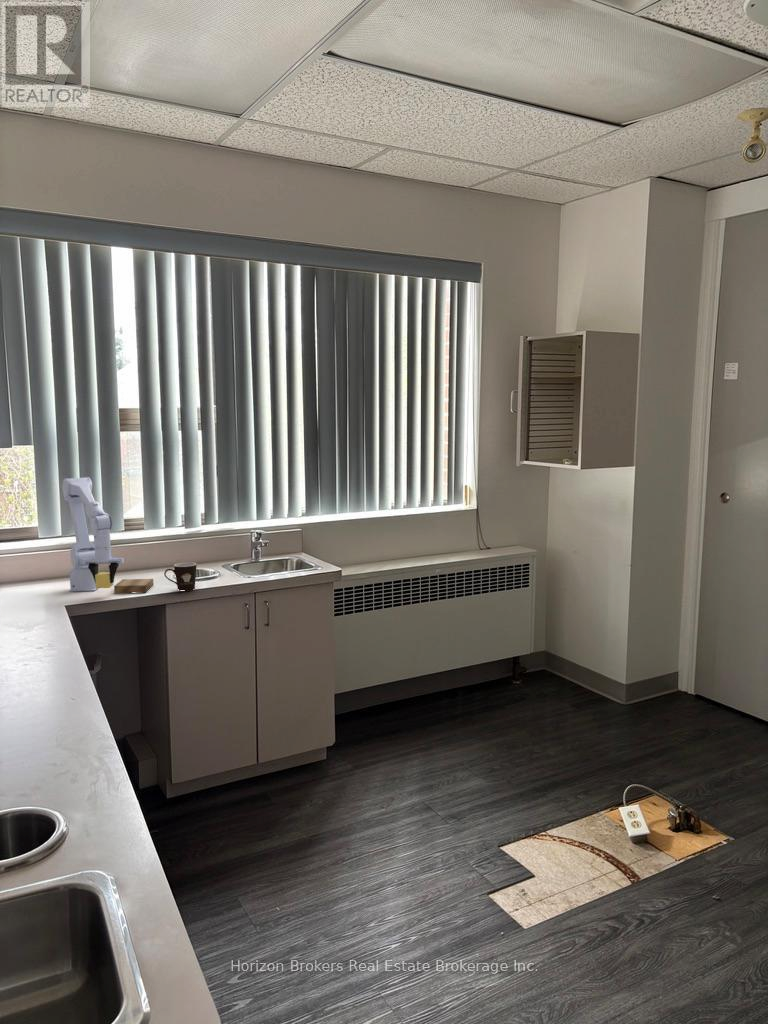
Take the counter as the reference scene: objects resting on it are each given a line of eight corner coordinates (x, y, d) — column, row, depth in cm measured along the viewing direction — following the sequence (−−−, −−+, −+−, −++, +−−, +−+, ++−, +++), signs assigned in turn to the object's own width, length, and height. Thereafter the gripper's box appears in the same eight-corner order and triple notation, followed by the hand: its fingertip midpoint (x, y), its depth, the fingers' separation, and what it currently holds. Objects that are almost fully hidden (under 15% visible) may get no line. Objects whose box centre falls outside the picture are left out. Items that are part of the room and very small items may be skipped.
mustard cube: (95, 588, 288) (95, 575, 287) (100, 585, 293) (99, 572, 292) (109, 587, 288) (108, 574, 288) (113, 585, 293) (112, 572, 293)
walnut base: (114, 593, 296) (114, 586, 296) (123, 586, 308) (122, 579, 308) (146, 592, 297) (145, 585, 297) (153, 586, 309) (153, 578, 309)
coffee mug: (200, 587, 305) (199, 562, 304) (193, 592, 297) (192, 566, 296) (172, 587, 307) (171, 562, 305) (164, 592, 298) (162, 566, 297)
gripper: (79, 549, 284) (81, 585, 286) (119, 548, 285) (121, 584, 287) (85, 546, 291) (87, 581, 293) (124, 545, 292) (126, 580, 294)
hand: (104, 582), depth 291 cm, fingers closed on mustard cube, 5 cm apart
